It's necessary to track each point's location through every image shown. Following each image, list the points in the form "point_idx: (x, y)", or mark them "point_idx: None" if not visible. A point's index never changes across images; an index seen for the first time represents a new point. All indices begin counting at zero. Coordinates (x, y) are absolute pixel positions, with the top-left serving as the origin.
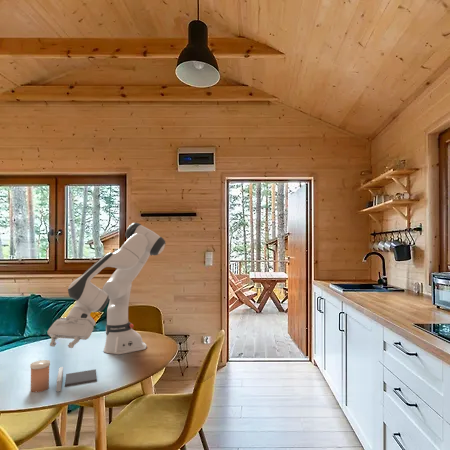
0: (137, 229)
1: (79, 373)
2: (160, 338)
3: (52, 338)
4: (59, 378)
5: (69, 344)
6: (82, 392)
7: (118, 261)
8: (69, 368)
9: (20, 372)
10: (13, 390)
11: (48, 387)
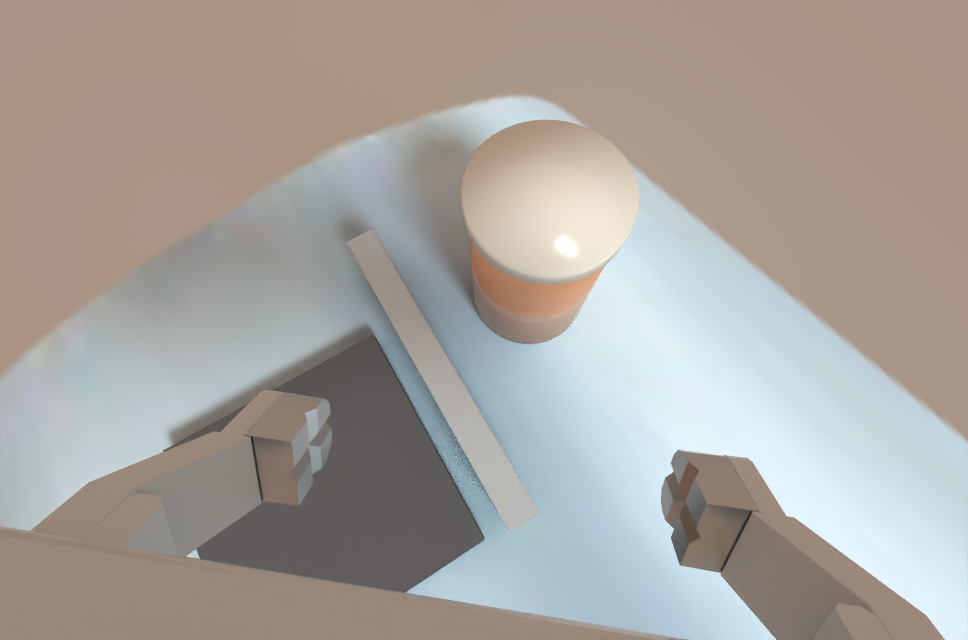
0: None
1: (365, 561)
2: None
3: (839, 569)
4: (377, 272)
5: (293, 410)
6: (219, 279)
7: None
8: None
9: None
10: (686, 263)
11: (475, 304)
